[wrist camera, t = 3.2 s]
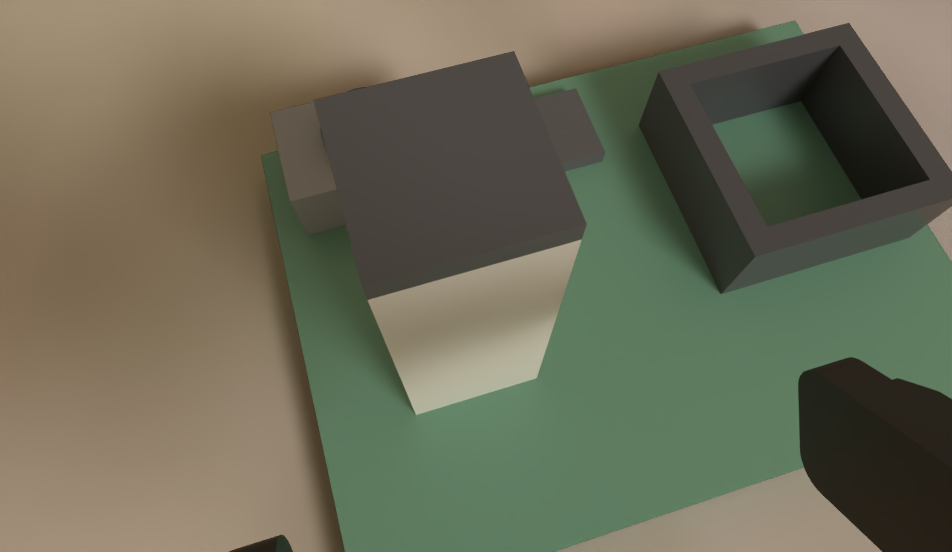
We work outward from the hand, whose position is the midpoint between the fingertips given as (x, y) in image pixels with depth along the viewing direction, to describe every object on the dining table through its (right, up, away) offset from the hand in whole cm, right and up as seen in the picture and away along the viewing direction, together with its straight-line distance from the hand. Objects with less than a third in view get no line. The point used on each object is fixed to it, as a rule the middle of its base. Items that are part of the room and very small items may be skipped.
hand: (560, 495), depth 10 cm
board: (+4, +3, +14) cm, 15 cm away
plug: (-2, +1, +12) cm, 12 cm away
